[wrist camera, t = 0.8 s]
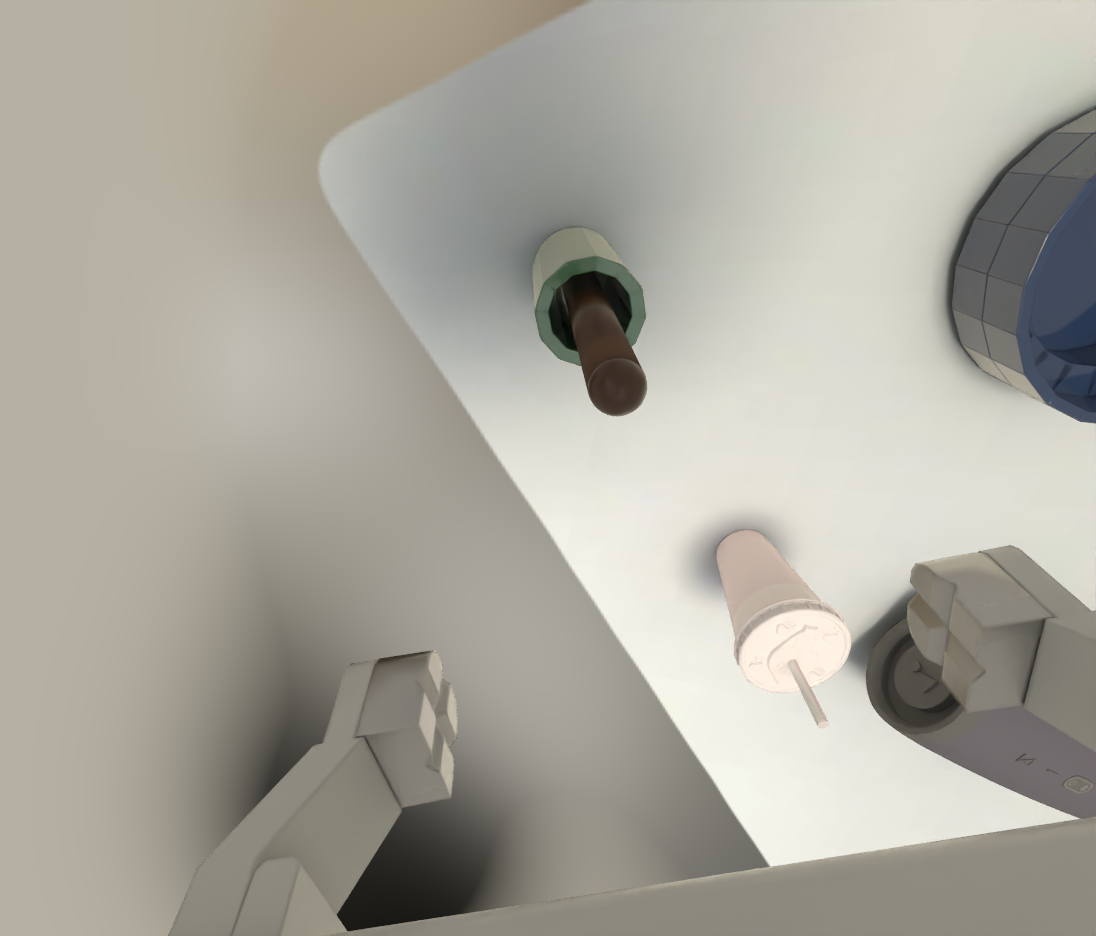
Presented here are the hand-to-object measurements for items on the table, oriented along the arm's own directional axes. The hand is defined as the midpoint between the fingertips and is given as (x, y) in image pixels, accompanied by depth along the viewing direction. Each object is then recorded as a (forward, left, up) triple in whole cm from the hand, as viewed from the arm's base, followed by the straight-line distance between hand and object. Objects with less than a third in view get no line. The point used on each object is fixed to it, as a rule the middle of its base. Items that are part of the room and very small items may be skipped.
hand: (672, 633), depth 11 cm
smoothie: (+20, +9, -28) cm, 35 cm away
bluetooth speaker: (+36, +27, -28) cm, 53 cm away
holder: (-1, +1, -28) cm, 28 cm away
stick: (-1, +1, -27) cm, 27 cm away
